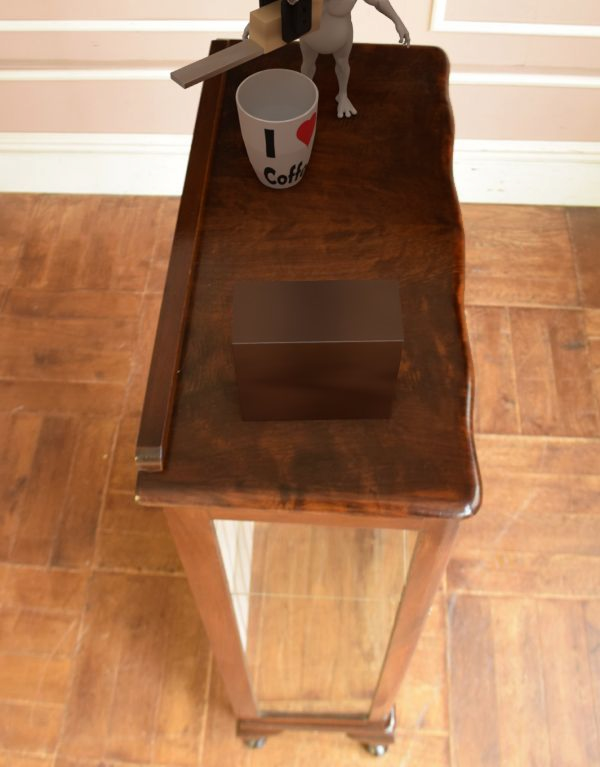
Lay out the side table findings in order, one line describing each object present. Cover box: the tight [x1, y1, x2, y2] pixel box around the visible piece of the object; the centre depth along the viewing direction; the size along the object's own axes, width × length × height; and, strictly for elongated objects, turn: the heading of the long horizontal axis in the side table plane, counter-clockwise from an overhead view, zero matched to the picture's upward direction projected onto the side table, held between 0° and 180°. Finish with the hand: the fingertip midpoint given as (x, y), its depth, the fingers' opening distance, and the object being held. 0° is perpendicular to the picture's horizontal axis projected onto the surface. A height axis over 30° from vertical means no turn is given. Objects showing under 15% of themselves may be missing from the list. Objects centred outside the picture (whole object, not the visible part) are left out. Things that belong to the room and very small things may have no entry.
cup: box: [235, 68, 319, 190], centre depth 80 cm, size 8×8×10 cm
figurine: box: [241, 0, 411, 119], centre depth 82 cm, size 18×7×18 cm, turn 88°
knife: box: [169, 0, 323, 90], centre depth 69 cm, size 16×2×3 cm, turn 133°
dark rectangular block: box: [230, 278, 405, 422], centre depth 65 cm, size 13×6×12 cm, turn 91°
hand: (285, 27), depth 71 cm, fingers closed on knife, 2 cm apart
